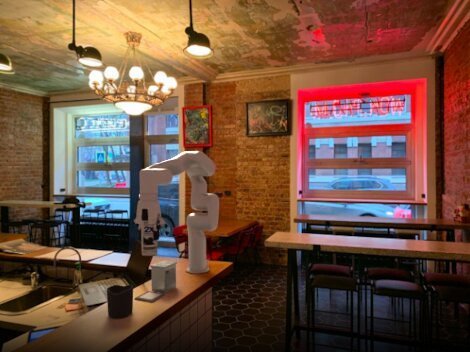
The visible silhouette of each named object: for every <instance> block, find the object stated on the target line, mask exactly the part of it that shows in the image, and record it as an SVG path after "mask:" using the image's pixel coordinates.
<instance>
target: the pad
mask: <svg viewBox="0 0 470 352" xmlns="http://www.w3.org/2000/svg"><path fill="white" fill-rule="evenodd" d="M165 296H166V293H165V294H164V293H158V292H152V290H149V291H146V292H144V293H141V294H140V295H137V296H136V297H134V300H136V301H141V302H142V301H143V302H146V301H147V302H146V303H154V302H155V301H158V300H159V299H161V298H163V297H165Z"/></svg>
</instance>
